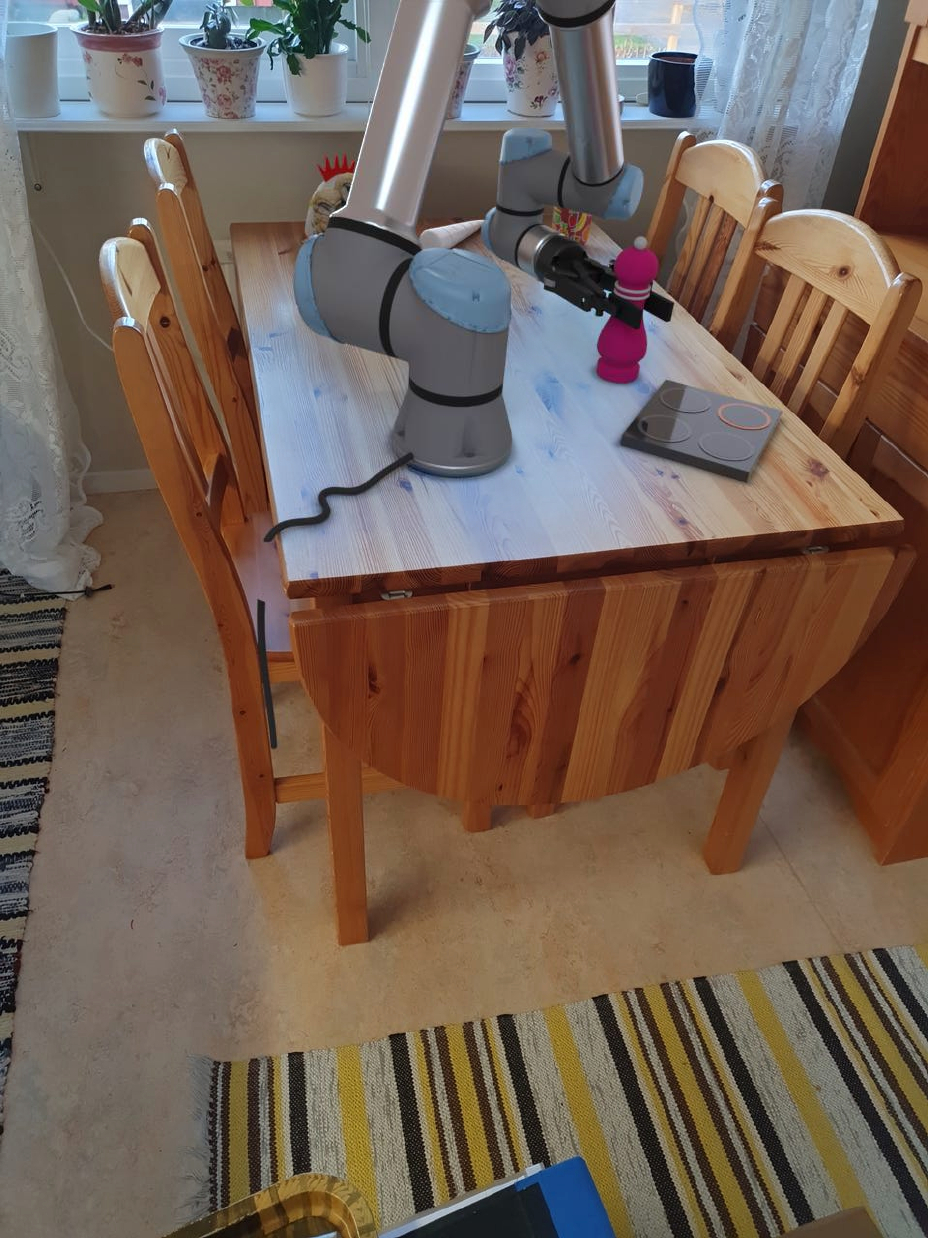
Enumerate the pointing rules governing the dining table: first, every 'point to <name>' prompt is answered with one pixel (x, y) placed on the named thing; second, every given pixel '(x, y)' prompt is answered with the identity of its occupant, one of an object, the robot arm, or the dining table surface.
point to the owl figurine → (329, 203)
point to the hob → (703, 430)
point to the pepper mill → (618, 339)
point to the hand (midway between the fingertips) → (654, 315)
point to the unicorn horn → (448, 234)
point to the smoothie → (572, 224)
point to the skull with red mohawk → (327, 184)
